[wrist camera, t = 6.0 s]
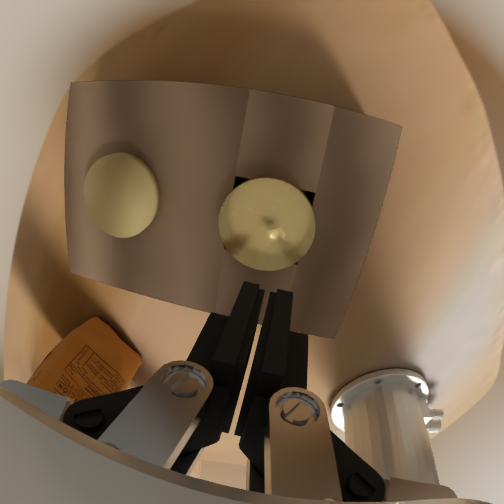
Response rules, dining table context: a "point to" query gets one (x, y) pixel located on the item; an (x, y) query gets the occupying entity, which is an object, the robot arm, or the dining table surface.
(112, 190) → the walnut block
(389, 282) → the dining table surface
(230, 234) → the brass peg
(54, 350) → the coffee package
